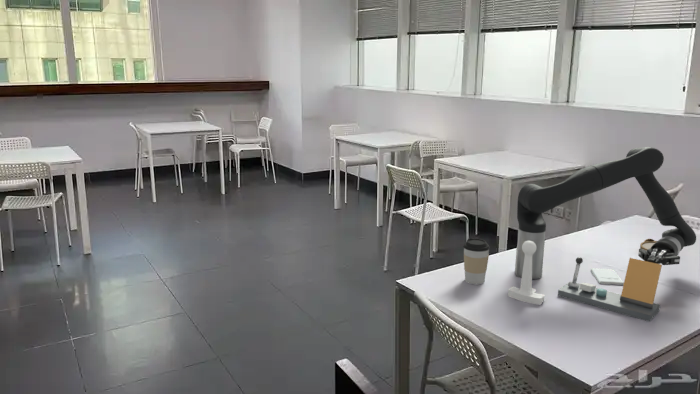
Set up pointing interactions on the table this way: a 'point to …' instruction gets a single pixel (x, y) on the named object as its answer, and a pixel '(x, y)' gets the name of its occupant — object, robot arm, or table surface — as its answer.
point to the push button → (601, 292)
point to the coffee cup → (475, 260)
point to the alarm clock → (647, 244)
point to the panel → (609, 302)
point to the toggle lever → (576, 274)
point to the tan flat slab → (641, 283)
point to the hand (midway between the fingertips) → (650, 263)
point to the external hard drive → (606, 276)
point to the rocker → (587, 287)
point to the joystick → (527, 279)
